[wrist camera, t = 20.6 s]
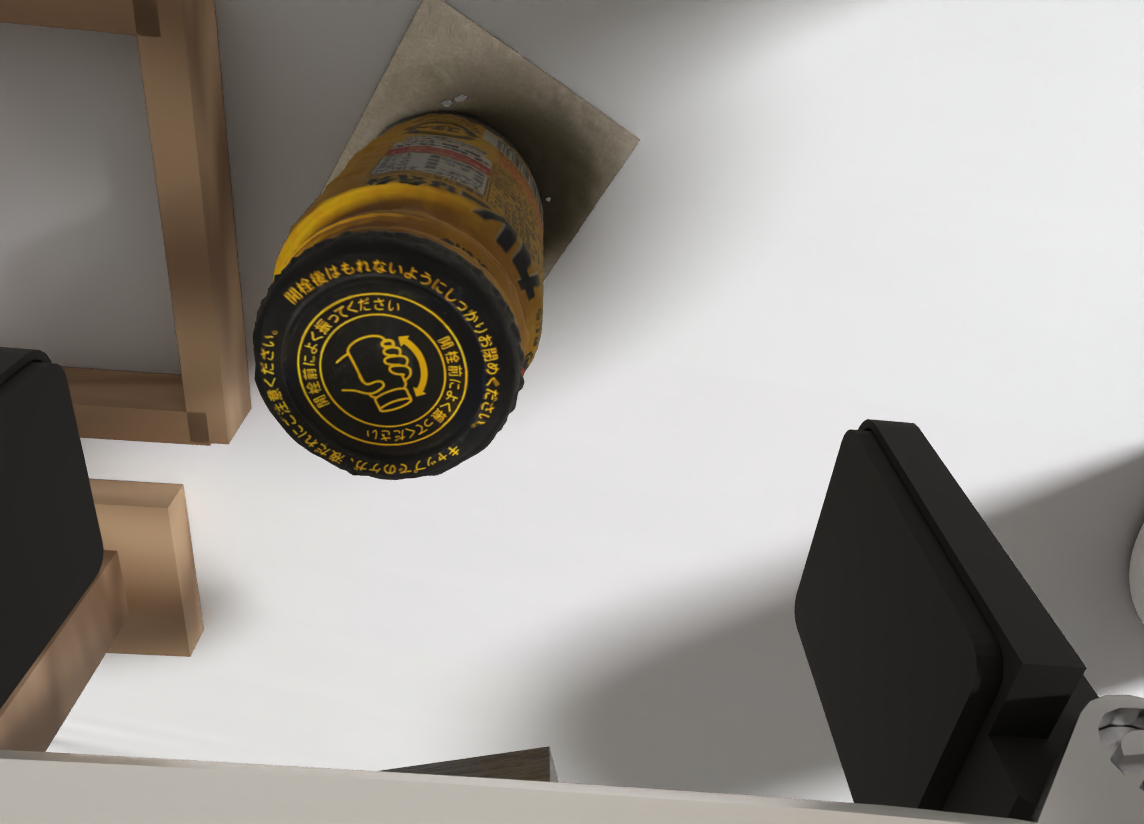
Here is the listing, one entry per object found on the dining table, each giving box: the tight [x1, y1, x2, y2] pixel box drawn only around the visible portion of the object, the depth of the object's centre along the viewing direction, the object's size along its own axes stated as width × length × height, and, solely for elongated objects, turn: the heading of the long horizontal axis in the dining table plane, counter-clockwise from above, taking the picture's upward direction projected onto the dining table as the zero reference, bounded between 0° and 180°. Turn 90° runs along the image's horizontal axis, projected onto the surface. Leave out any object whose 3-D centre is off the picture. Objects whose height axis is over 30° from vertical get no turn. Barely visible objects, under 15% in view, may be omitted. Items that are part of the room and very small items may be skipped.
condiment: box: [253, 0, 640, 480], centre depth 21 cm, size 7×8×12 cm
